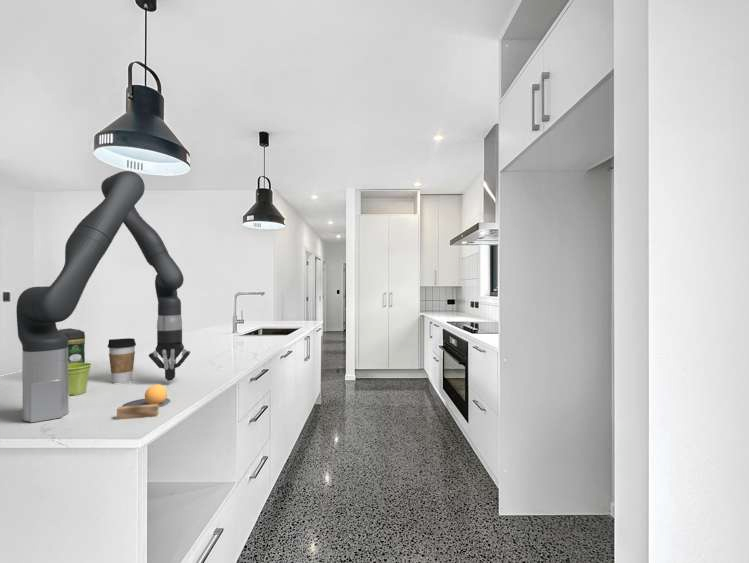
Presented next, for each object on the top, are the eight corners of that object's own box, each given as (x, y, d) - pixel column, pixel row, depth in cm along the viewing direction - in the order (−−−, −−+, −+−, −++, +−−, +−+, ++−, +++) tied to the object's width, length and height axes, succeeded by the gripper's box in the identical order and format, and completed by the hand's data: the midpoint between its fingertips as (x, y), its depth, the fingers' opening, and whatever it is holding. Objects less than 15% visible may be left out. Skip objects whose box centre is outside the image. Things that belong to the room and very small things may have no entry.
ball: (171, 382, 118) (171, 401, 118) (152, 381, 118) (152, 401, 119) (160, 387, 112) (160, 408, 113) (140, 387, 113) (140, 407, 113)
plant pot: (69, 398, 122) (69, 369, 122) (47, 396, 125) (47, 367, 126) (99, 391, 131) (99, 363, 131) (78, 388, 134) (78, 362, 134)
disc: (175, 404, 115) (175, 404, 115) (125, 413, 108) (125, 412, 108) (164, 395, 125) (164, 395, 125) (118, 403, 117) (118, 402, 117)
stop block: (158, 413, 107) (158, 403, 107) (156, 416, 105) (156, 406, 105) (119, 416, 105) (119, 406, 105) (116, 419, 103) (116, 409, 103)
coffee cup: (101, 383, 141) (101, 339, 141) (123, 378, 149) (123, 336, 149) (120, 385, 138) (120, 340, 138) (141, 379, 146) (141, 337, 146)
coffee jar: (51, 382, 143) (50, 328, 144) (77, 378, 150) (77, 326, 150) (61, 386, 138) (61, 330, 138) (88, 381, 144) (88, 328, 144)
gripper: (193, 326, 144) (193, 376, 144) (151, 328, 141) (151, 379, 141) (188, 328, 137) (189, 381, 137) (144, 330, 133) (145, 384, 133)
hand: (170, 380), depth 139 cm, fingers closed
